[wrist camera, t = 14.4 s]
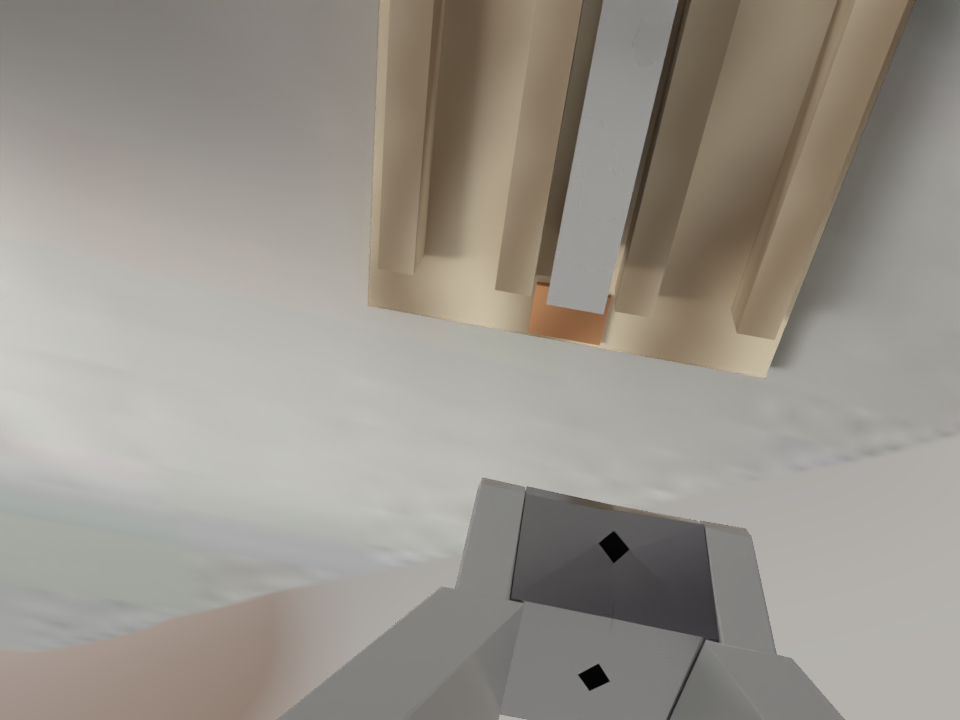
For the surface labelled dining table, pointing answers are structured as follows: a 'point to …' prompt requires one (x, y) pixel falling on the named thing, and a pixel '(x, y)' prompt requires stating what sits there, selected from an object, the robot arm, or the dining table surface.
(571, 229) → the blanking panel
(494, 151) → the rack
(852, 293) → the dining table surface
